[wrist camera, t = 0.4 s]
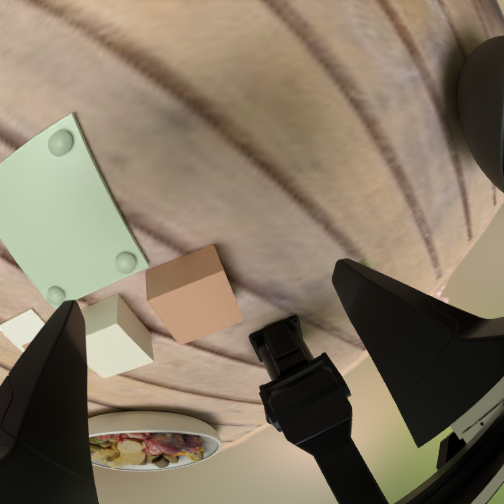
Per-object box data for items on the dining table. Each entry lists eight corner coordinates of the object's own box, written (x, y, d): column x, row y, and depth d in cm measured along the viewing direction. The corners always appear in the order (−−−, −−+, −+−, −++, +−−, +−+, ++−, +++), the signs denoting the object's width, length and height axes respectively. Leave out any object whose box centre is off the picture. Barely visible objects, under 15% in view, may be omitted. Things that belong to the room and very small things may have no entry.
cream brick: (150, 331, 28) (154, 361, 25) (103, 349, 27) (103, 378, 24) (118, 291, 24) (116, 323, 21) (68, 314, 23) (63, 344, 20)
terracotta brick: (232, 292, 29) (244, 320, 25) (174, 315, 28) (180, 345, 25) (212, 242, 24) (223, 270, 21) (145, 269, 24) (147, 300, 21)
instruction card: (86, 361, 27) (86, 363, 27) (50, 373, 26) (50, 375, 26) (31, 307, 21) (31, 309, 21) (-3, 325, 20) (-4, 327, 20)
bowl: (182, 455, 56) (189, 481, 50) (65, 444, 40) (67, 474, 33) (243, 407, 46) (257, 443, 40) (73, 388, 30) (73, 437, 24)
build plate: (148, 262, 23) (149, 271, 22) (56, 305, 22) (54, 313, 21) (73, 112, 14) (69, 114, 13) (-25, 186, 13) (-32, 191, 12)
